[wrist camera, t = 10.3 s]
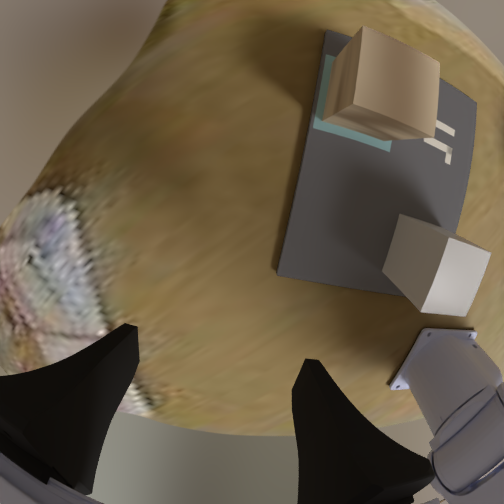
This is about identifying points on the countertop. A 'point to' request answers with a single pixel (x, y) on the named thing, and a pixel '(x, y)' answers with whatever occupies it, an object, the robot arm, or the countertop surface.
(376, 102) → the maple block
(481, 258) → the grey block
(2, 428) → the robot arm
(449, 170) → the mat
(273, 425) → the countertop surface
